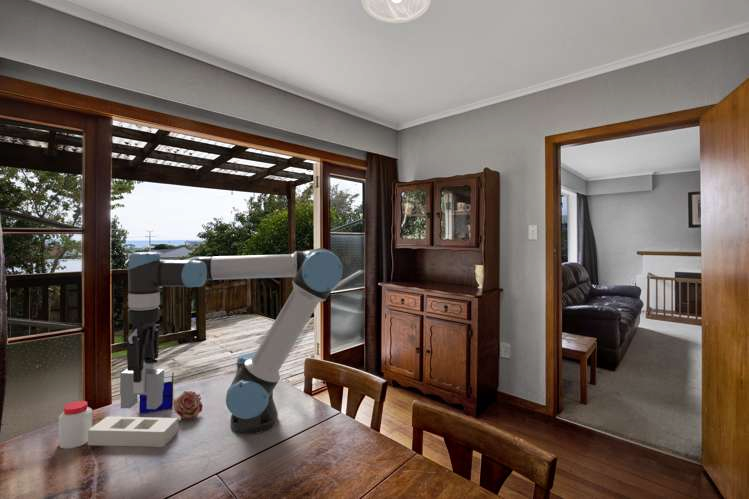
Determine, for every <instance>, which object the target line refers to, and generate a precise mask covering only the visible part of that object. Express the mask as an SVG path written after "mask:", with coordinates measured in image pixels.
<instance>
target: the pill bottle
mask: <svg viewBox="0 0 749 499" xmlns="http://www.w3.org/2000/svg"><path fill="white" fill-rule="evenodd" d="M92 427H93V409H92V408H91V407H89V406H88V401H86V400H78V401H73V402H69V403H68V404H65V405H64V406H63V412H62V413H61V414H60V415H59V416H58V446H59V448H61V449H75V448H78V447H81V446H84V445H85V444H88V430H89V429H90V428H92Z"/></svg>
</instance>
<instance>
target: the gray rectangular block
mask: <svg viewBox="0 0 749 499" xmlns="http://www.w3.org/2000/svg"><path fill="white" fill-rule="evenodd" d="M164 373H165V369H163V368H162V369H161V368H159V369H158V368H153V369H145V392H144V393H133V371H128V368H126V369H124V370H123V371H121V372H120V374H119V376H120V377H119V378H120V380H119V382H120V383H119V395H120V409H131V408H133V407H134V406H135V405H136V404H138V395H139V396H140V395H147V409H156V408H158V407H159V406H160V405H161V404H162V396H163V390H164Z"/></svg>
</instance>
